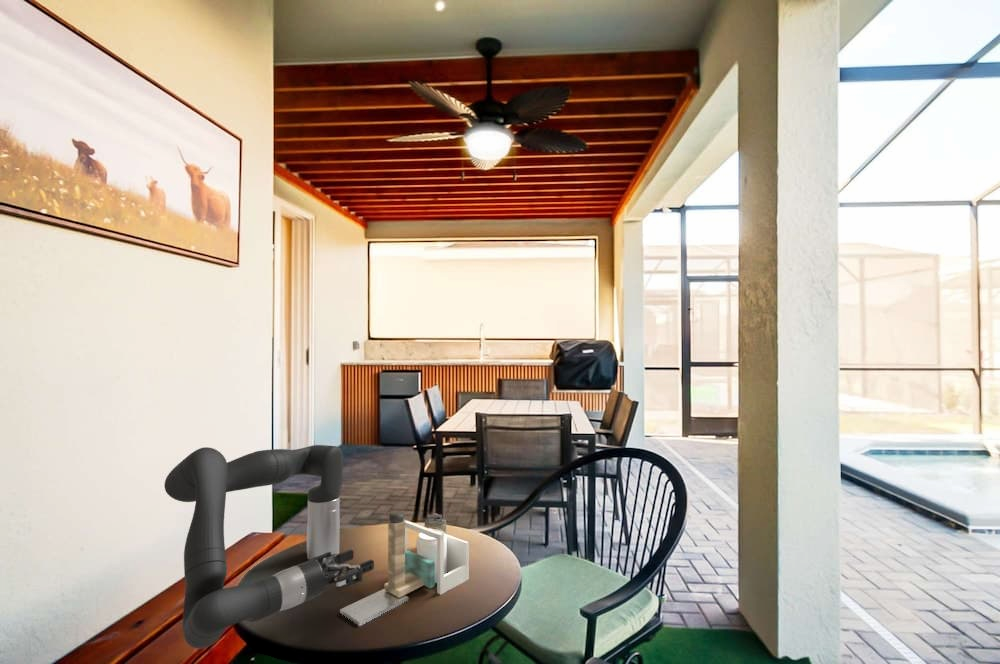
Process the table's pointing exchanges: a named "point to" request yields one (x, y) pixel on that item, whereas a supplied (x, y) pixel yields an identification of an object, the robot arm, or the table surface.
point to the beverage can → (431, 549)
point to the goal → (455, 558)
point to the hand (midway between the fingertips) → (362, 558)
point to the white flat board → (372, 606)
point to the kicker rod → (405, 562)
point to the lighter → (436, 522)
